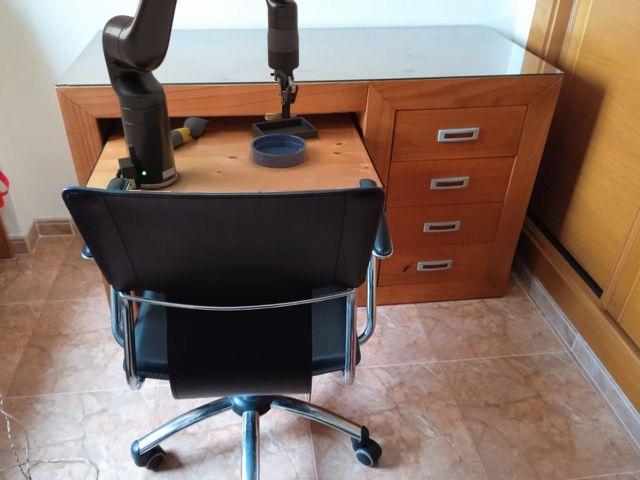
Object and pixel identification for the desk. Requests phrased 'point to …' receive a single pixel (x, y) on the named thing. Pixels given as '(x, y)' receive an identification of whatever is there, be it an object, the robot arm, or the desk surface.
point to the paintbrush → (188, 130)
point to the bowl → (278, 150)
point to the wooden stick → (276, 116)
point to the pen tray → (286, 128)
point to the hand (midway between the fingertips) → (284, 116)
